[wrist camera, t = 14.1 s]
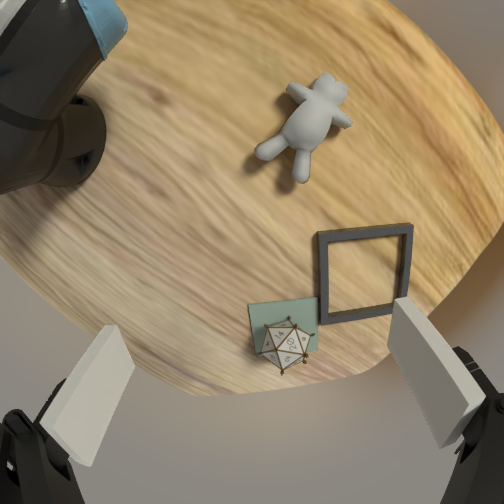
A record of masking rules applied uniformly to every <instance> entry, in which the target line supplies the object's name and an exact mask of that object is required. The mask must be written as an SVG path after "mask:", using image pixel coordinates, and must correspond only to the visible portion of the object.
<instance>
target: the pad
mask: <svg viewBox="0 0 504 504" xmlns="http://www.w3.org/2000/svg"><path fill="white" fill-rule="evenodd" d="M248 306H249V313H250V319H251V326H252V332H253V339H254V345H255V351H256V354H257V353H258V352H261V349H262V345H263V341H264V337H265V334H266V330H267V328H265V327H264V324H267V325H268V327H270V326H273V325H276V324H279V323H282V322H285V321H288V319H287V317H288V316H289V315H290V317H291V320H290V321H291V322H293V323H294V324H296V323H297V325H298V327H300V328H301V329H303V330H304V331H306V332H307V333H308V334H310V335H311V334H312V333H315V335H314V336H313V337H312V336H311V338H310V341H309V344H308V348H307V351H315V350H318V297H309V298H300V299H292V300H283V301H274V302H264V303H254V304H248ZM307 351H306V352H307ZM261 356H263V355H259V356H257V355H256V357H261Z"/></svg>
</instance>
